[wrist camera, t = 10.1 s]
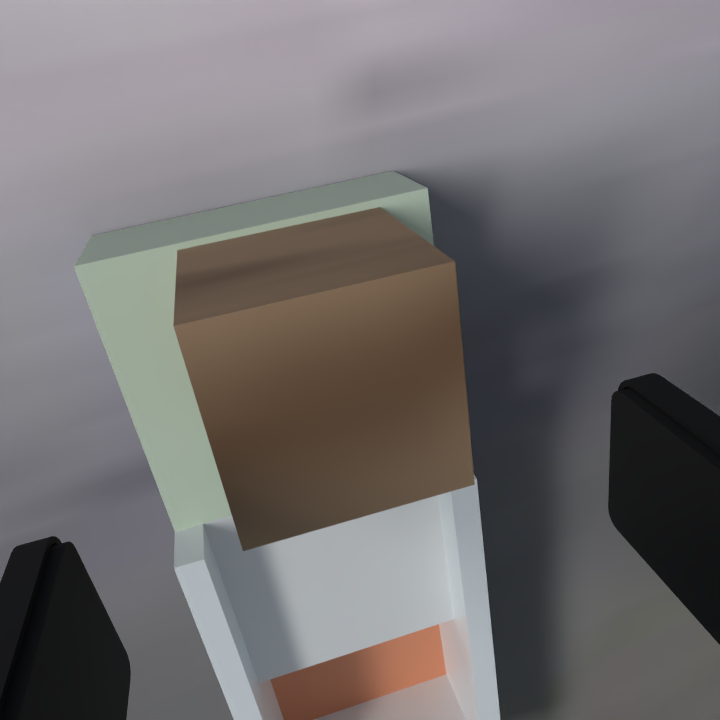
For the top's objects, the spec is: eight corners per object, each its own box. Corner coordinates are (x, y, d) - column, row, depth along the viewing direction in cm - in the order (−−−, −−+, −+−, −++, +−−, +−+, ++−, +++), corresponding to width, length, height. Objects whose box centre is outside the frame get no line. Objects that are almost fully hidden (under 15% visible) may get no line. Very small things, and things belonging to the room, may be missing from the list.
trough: (468, 727, 30) (510, 828, 26) (291, 791, 29) (307, 906, 25) (393, 170, 18) (449, 198, 15) (90, 235, 17) (62, 286, 13)
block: (404, 382, 18) (474, 484, 14) (228, 427, 17) (243, 551, 13) (379, 207, 16) (454, 261, 11) (177, 250, 15) (173, 326, 11)
